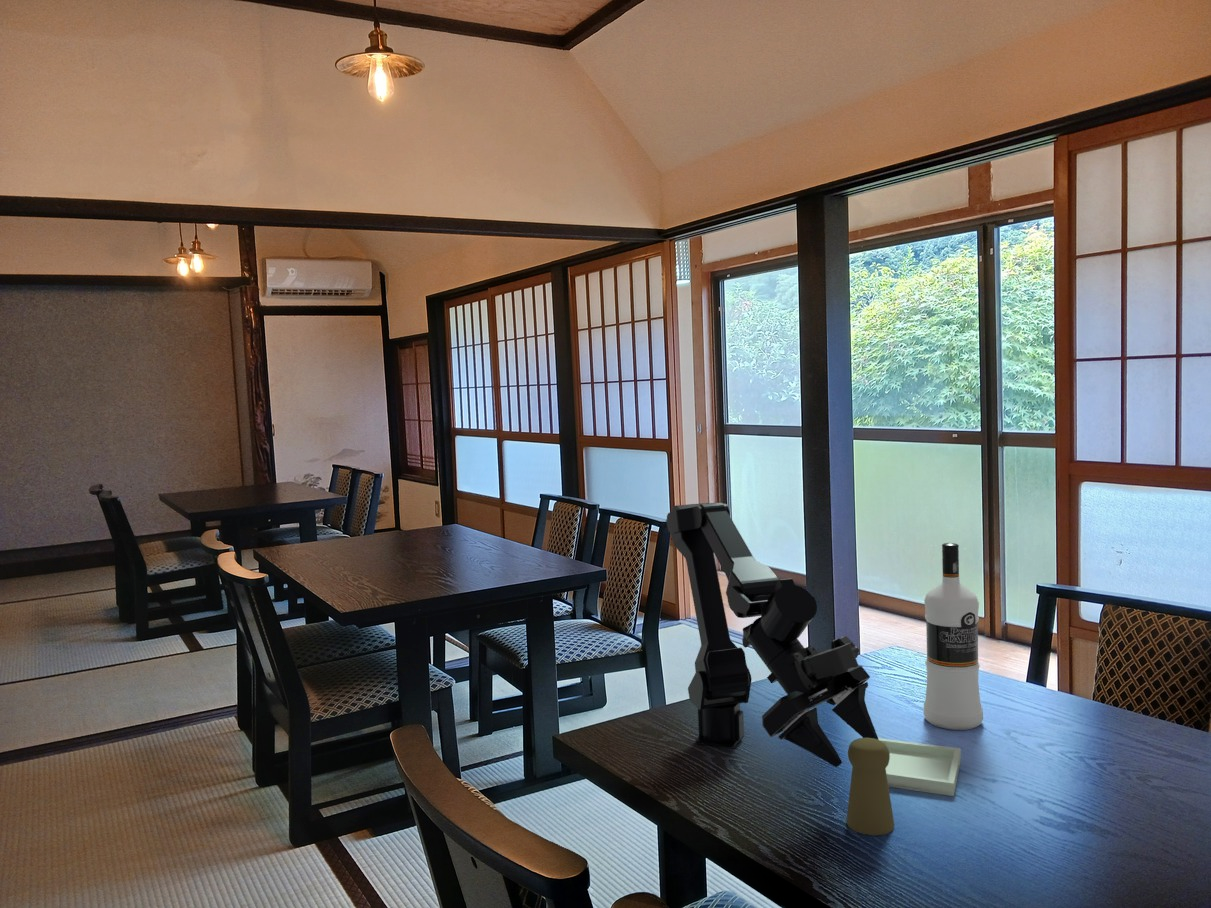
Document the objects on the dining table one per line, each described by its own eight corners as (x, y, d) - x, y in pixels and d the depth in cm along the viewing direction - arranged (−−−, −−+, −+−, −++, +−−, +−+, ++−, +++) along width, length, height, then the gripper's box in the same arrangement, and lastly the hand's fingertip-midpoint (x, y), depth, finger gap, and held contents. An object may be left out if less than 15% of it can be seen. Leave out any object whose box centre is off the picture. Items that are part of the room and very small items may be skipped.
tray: (860, 782, 129) (859, 770, 128) (874, 748, 140) (873, 737, 140) (954, 796, 123) (953, 783, 123) (960, 760, 134) (960, 748, 134)
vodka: (960, 708, 155) (958, 536, 153) (995, 727, 146) (993, 545, 144) (912, 715, 153) (909, 541, 151) (945, 735, 144) (942, 550, 142)
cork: (897, 836, 113) (895, 751, 112) (847, 833, 114) (845, 749, 113) (891, 814, 119) (890, 733, 118) (844, 811, 120) (842, 731, 119)
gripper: (778, 636, 113) (859, 743, 106) (855, 607, 126) (932, 700, 119) (730, 685, 119) (804, 789, 112) (808, 652, 132) (879, 744, 125)
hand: (858, 753), depth 117 cm, fingers open, 9 cm apart
